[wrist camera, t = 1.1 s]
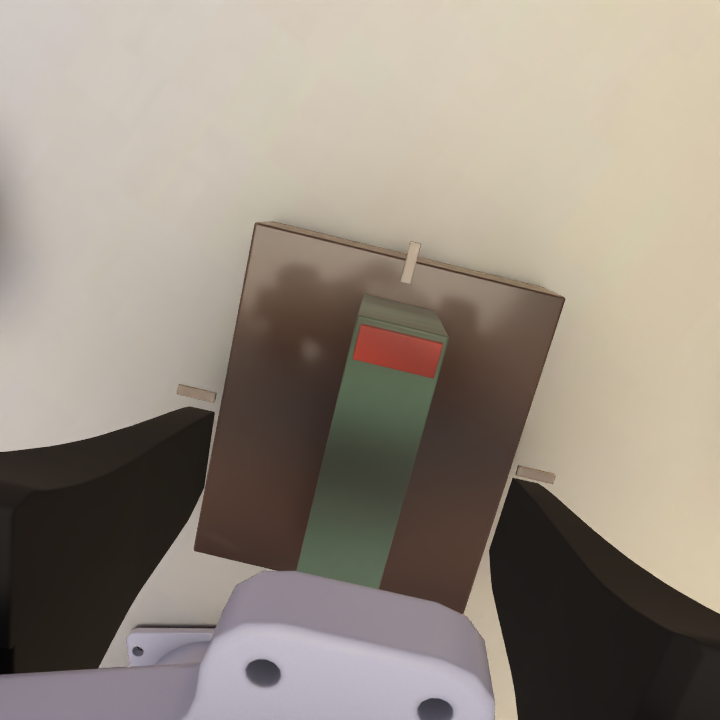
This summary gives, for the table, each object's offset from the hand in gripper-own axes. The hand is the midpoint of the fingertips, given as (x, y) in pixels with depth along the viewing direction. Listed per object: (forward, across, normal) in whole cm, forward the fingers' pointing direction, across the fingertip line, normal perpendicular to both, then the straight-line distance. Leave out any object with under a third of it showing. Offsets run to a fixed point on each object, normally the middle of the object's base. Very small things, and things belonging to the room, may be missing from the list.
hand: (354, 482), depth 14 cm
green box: (+8, 0, +2) cm, 8 cm away
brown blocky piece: (+11, 0, +2) cm, 11 cm away
